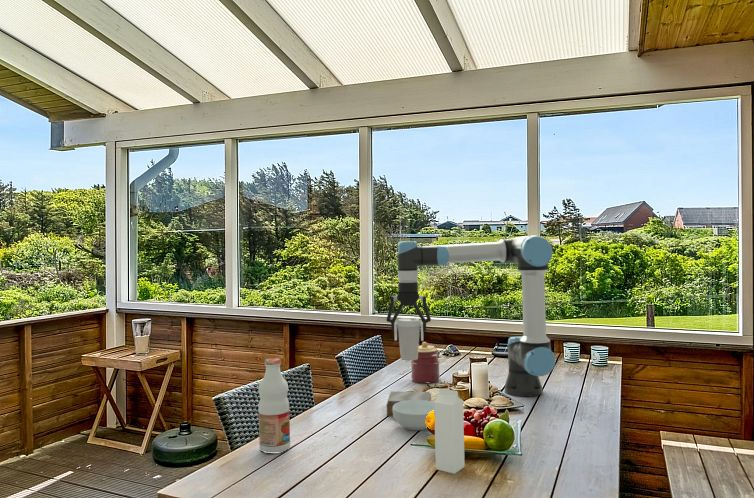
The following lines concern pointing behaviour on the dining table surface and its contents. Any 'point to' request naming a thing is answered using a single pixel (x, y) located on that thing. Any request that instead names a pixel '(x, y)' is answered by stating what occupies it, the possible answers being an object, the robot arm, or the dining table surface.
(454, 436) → the milk
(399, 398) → the grey flat block
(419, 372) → the canister
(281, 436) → the fruit juice
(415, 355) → the coffee cup
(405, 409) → the cereal bowl
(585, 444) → the dining table surface
